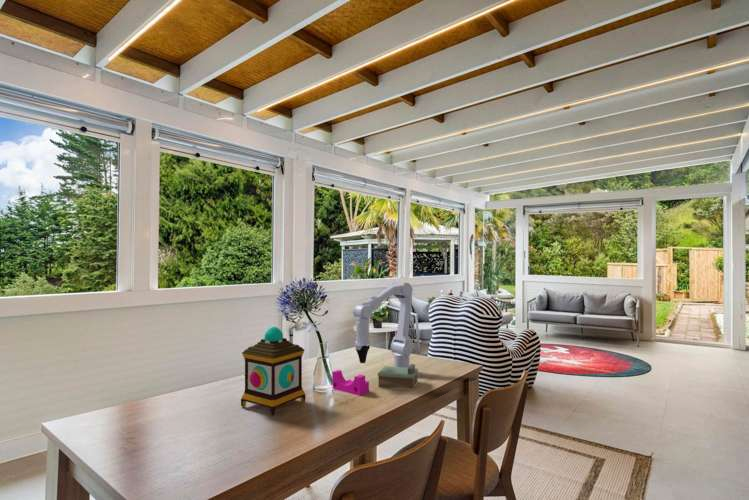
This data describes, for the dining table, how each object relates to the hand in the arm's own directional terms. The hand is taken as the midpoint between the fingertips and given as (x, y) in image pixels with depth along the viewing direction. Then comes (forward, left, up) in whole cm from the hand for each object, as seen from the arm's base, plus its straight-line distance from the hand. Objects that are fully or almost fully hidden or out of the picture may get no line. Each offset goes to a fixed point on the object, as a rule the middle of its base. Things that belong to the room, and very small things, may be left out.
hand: (362, 362), depth 189 cm
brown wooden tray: (-3, +16, -9) cm, 18 cm away
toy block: (+10, -3, -10) cm, 14 cm away
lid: (-3, +16, -4) cm, 16 cm away
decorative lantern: (+34, -25, -10) cm, 44 cm away
